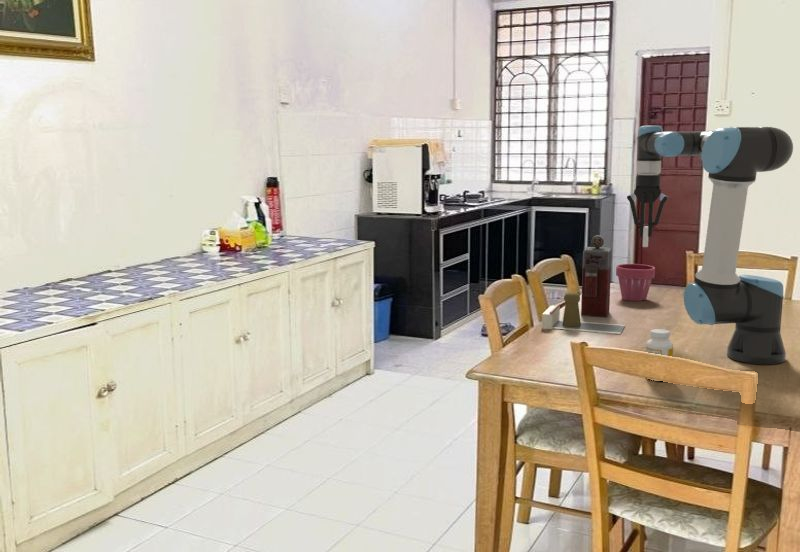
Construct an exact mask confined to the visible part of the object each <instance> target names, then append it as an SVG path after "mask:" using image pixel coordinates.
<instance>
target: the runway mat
mask: <svg viewBox="0 0 800 552" xmlns="http://www.w3.org/2000/svg"><path fill="white" fill-rule="evenodd" d="M580 322H581V326H580V327H565V326H563V325H562V324H563V319H559V320H558V322H557V323H556V324H555V325H554V326H553V327H552V329H551V330H560V329H563V331H573V332H586V333H596V334H597V333H598V334H613V335H621V334H622V332H623V330H624V329H625V327H626V325H625V324H614V323H605V322H604V323H603V322H601V323H600V322H590V321H589V322H588V321H580Z"/></svg>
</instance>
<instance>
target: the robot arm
mask: <svg viewBox="0 0 800 552" xmlns="http://www.w3.org/2000/svg"><path fill="white" fill-rule="evenodd" d="M793 144H794V143H793V139H792V138H791V137H790V135H789V134H788V133H787V132H786V131H784V130H783V129H781V128H777V127H773V126H762V127H761V126H730V127H719V128H716V129H714V130H705V131H701V130H700V131H673V130H671V131H669V130H667V131H664V129H663V127H662V126H661V125H642V126H640V127H639V128H638V134H637V146H636V147H637V150H636V151H637V152H636V156H637V157H636V174H637V175H636V177H635V188H634V190H633V193H631V194H629V195H627V197H626V199H627V200H628V202H629V205H630V209H631V214H632V218H633V224H634V225H636V226H639V237H642V248H648V247H649V237H652V236H653V227H655V226H658V224H660V223H659V222H660V219H661V216H662V213H663V209H664V206H665V203H666V202H667V200H668V198H669V196H668V195H665V194H664V193H662V189H661V178H662V177H661V175H660V173H661V172H662V157H665V158H668V157H669V158H672V157H694V156H695V157H697V156H698V157H700V158H701V163H702V164H701V165H702V168H703V169H704V170H705V171H706V172H707V173H708V176H707V178H708V179H709V180H710V181H711V183H712V190H711V191H712V193H711V198H710V206H709V214H708V221H707V229H706V236H705V245H704V249H703V251H704V253H703V258H702V259H703V260H702V267H701V269H700V270H699V271H697V272H696V273H695V275H694V281H693V282H690V283H688V284H686V287H685V288H684V291H683V304H684V307H685V308H684V309H685V310H686V313H687V315H688V316H689V318H690V320H692V322H694V323H696V324H697V325H708V326H713V325H724V324H725V325H726V324H735V325H734V326H735V327H734V331H733V333H732V335H731V339H730V340H729V342H728V346H727V349H726V350H727V351H726V356H727V357H728V358H730V359H731V360H734V361H737V362H741V363H746V364H747V363H748V364H754V365H766V366H767V365H778V364H783V363H784V362H785V361H786V355H787V354H786V348H785V345H784V341H783V338H782V334H781V329H782V314H783V301H784V298H785V295H784V285H783V283H782V282H781V281H779V280H777V279H775V278H770V277H764V276H758V275H752V274H751V275H750V274H741V275H738V274H737V273H736V271H737V264H738V258H739V251H740V244H741V237H742V233H743V232H742V230H743V224H744V217H745V211H746V204H747V196H748V191H749V188H750V187H749V186H751V185H752V184H754V183H755V182H756V180H757V179H756V178H757V173H763V172H764V173H765V172H771V171H775V170H778V169H780V168H782V167H783V166H785V165H786V164H787V163H788V162H789V161H790V159H791V158H792V155H793V152H794V145H793ZM636 198H637V200H638V201H639V202H640V215H639V216H638V212H637V207H636V202H635V199H636ZM658 198H659V202H660V203H659V204H658V205H659V206H658V209H657V212H656V214H655V217H654V205H655V204H654V203H655V202H656V201H657V200H658ZM646 203H648V216H647V217H648V220H647V221H648V223H647V225H645V220H646V218H645V217H646Z"/></svg>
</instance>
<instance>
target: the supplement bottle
mask: <svg viewBox="0 0 800 552" xmlns="http://www.w3.org/2000/svg"><path fill="white" fill-rule="evenodd" d="M649 335H650V337H651V338H650V339H648V340H647V341H646V344H645V353H646V352H648V353H655V354H661V355H667V356H672V357H673V358H674V343H673V342H672V340H670V339H669V338H670V335H671V332H670V330H667V329H664V328H663V329H662V328H655V329H651V330H650V334H649ZM651 382H654V381H653V380H652V381H651Z"/></svg>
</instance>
